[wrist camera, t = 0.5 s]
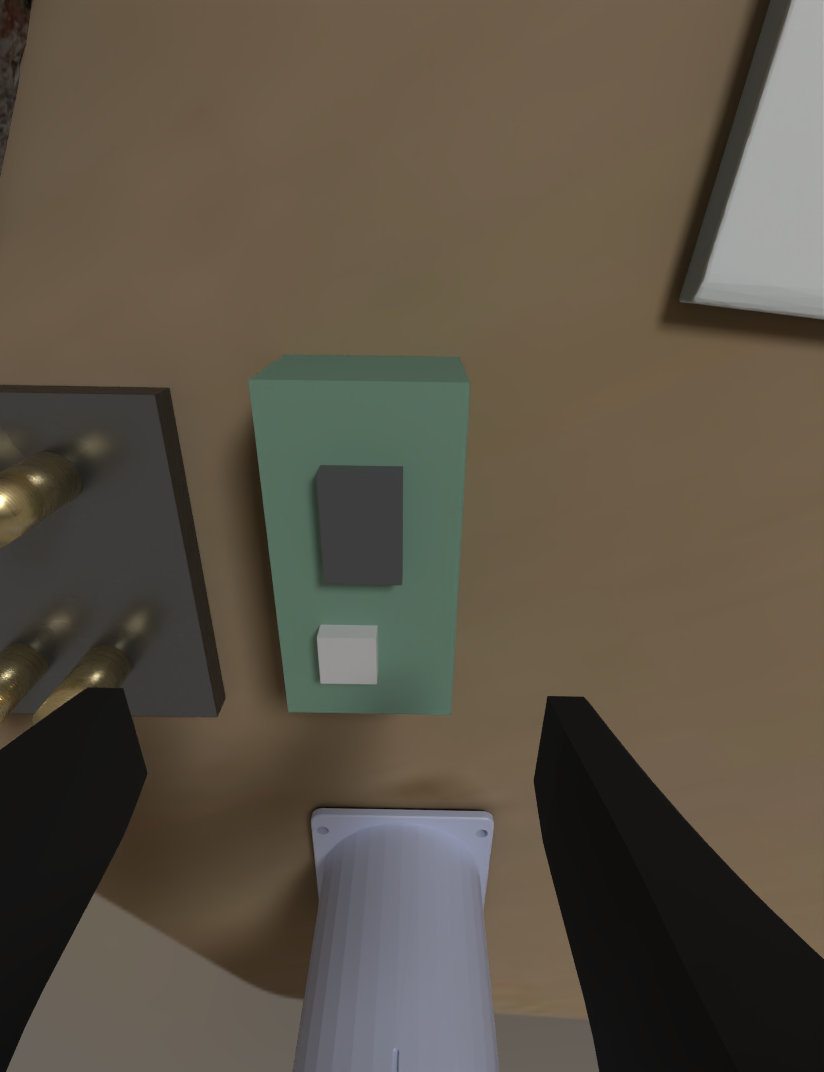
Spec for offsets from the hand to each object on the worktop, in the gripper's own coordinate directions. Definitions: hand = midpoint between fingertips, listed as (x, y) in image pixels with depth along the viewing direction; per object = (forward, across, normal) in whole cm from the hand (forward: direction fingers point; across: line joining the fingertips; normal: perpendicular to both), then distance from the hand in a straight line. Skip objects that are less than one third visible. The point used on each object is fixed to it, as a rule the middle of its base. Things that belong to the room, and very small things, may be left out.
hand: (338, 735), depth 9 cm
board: (+10, 0, 0) cm, 10 cm away
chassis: (+9, +11, +2) cm, 15 cm away
